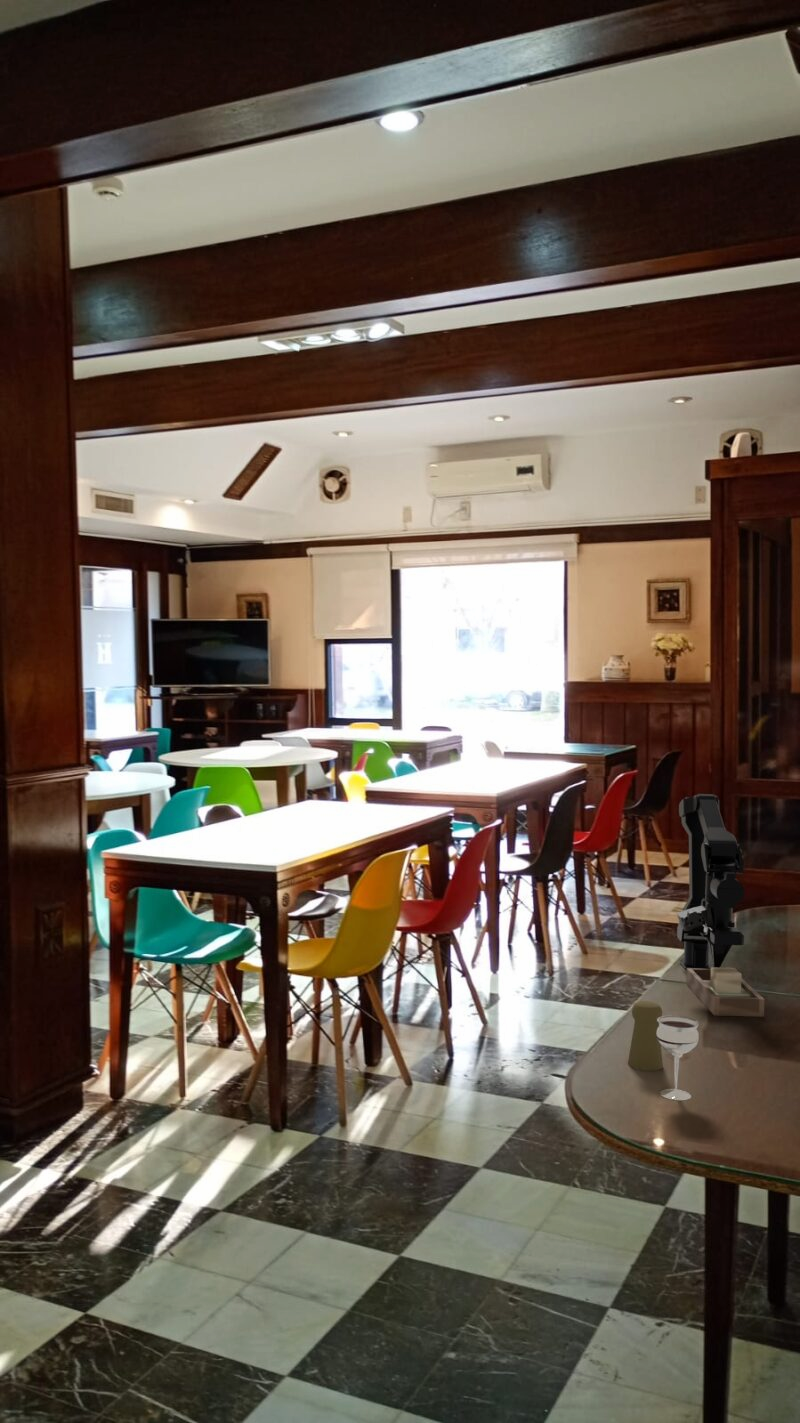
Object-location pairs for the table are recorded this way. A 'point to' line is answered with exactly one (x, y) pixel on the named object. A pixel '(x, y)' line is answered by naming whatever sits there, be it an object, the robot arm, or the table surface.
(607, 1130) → the table surface
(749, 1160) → the table surface
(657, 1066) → the cork
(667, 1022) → the wineglass
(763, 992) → the table surface
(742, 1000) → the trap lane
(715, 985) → the block
